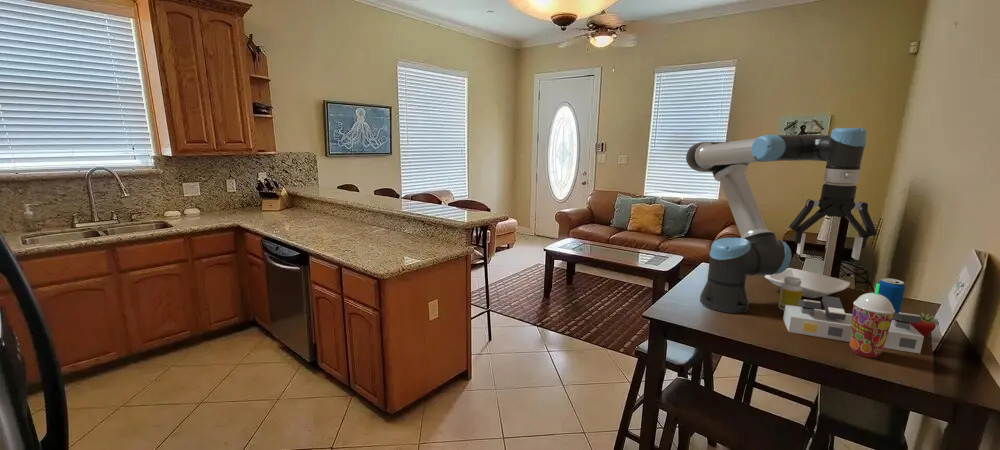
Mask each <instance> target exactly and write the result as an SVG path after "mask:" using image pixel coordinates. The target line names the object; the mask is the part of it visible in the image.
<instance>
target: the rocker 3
mask: <svg viewBox="0 0 1000 450" xmlns="http://www.w3.org/2000/svg"><path fill="white" fill-rule="evenodd" d="M920 316H921V315H920V314H917V315H916V314H914V313H907V312H901V311H900V312H899V313H895V312H894V315H893V318H892V320H898V321H905V322H909V323H910V322H913V323H921V317H920Z"/></svg>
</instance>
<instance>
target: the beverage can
mask: <svg viewBox="0 0 1000 450" xmlns="http://www.w3.org/2000/svg"><path fill="white" fill-rule="evenodd" d="M877 284H880V286H879V291H878V294H881V295H883V296H885V297H886V298H888V299H889V301H890V302H891V303H892V305H893V308H894V309H895V313H899V312H901V308H902V307H901V306H902V304H903V298H904V293H905V289H906V286H905V282H904V281H902V280H900V279H896V278H890V277H889V278H888V277H882V278H880V280H879V281H878V283H877Z"/></svg>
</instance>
